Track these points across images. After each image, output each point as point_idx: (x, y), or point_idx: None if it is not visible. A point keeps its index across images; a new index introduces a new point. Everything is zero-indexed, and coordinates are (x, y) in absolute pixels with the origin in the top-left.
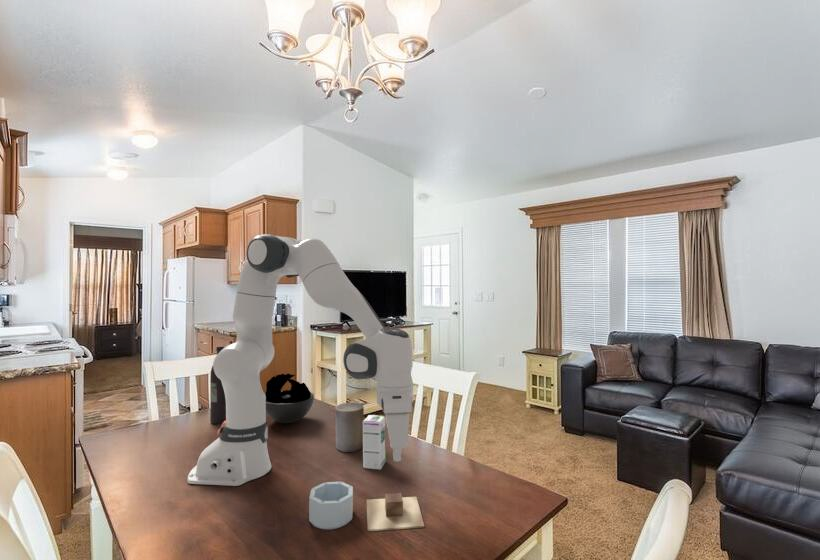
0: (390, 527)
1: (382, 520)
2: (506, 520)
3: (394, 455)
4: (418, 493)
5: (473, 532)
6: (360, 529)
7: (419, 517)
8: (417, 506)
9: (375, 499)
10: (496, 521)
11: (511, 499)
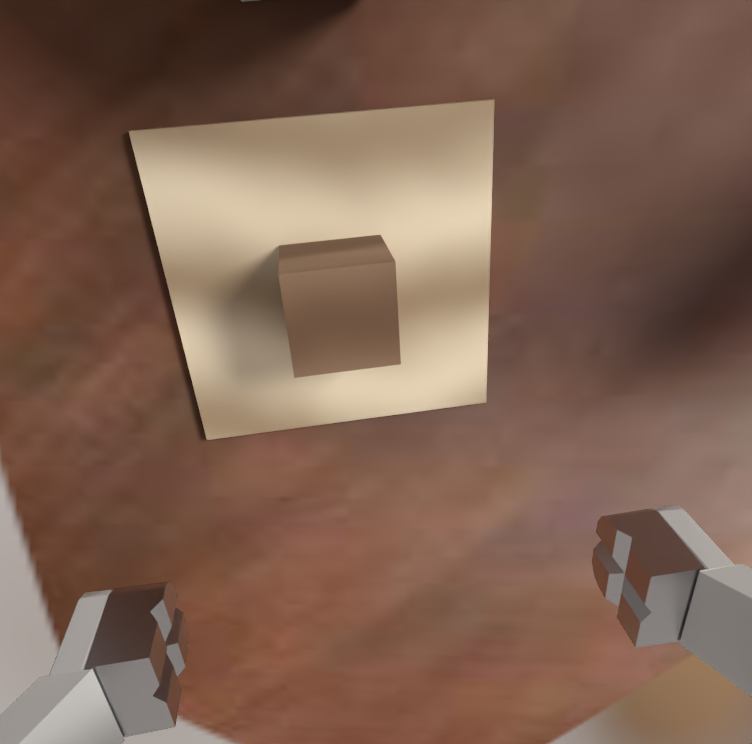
0: (169, 274)
1: (240, 224)
2: (281, 695)
3: (59, 663)
4: (526, 407)
5: (189, 605)
6: (145, 76)
7: (280, 418)
8: (385, 408)
9: (488, 165)
10: (273, 670)
11: (423, 714)
